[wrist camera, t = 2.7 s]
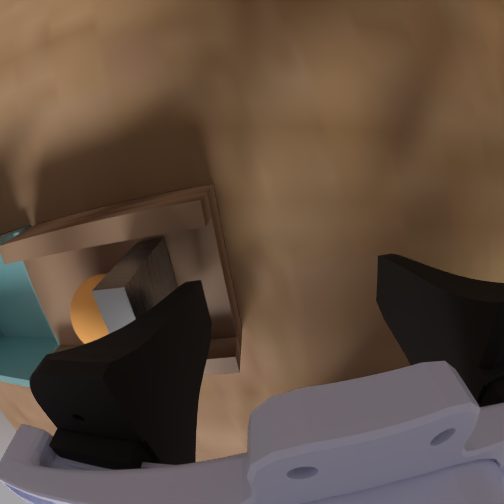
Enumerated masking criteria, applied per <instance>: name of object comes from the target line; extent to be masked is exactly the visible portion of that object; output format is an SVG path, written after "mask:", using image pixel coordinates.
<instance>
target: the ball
mask: <svg viewBox="0 0 504 504" xmlns="http://www.w3.org/2000/svg"><path fill="white" fill-rule="evenodd" d="M106 275H107V274H98V275H95V276H92V277H90V278H88V279H87V280H85V281H84V282H83V283H82V284H81V285H80V286H79V287H78V289H77V290H76V292H75V294H74V296H73V298H72V302H71V307H70V317H71V322H72V325H73V328H74V331H75V332H76V334H77V336H78V337H79V338H80V340H81V341H82V342H83V343H84V344H86V343H89V342H92V341H94V340H97V339H99V338H101V337H104V336H106V335H108V334H109V331H108V329H107V327H106V325H105V322H104V320H103V318H102V315H101V313H100V310H99V308H98V306H97V303H96V301H95V298H94V295H93V293H92V290H93V289H94V288H95V287H96V286H97V284H98V283H99V282H100V281H101V280H102V279H103V278H104V277H105V276H106Z"/></svg>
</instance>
